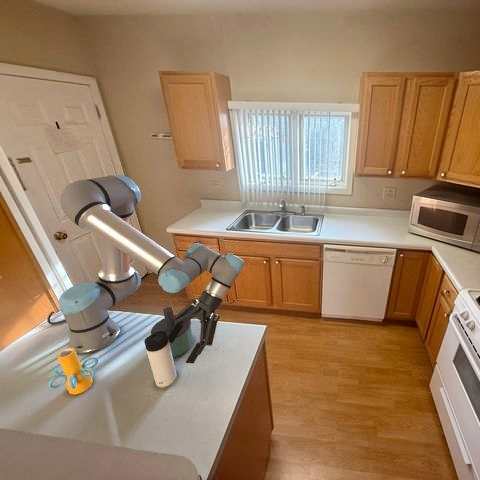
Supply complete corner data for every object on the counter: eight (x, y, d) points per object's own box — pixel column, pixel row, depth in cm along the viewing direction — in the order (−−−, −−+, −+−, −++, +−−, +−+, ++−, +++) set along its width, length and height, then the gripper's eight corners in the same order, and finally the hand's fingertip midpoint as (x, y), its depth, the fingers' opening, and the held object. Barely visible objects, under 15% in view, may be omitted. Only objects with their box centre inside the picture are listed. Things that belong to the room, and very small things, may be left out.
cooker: (153, 345, 100) (148, 326, 97) (186, 330, 109) (183, 312, 105) (162, 364, 92) (157, 345, 89) (197, 347, 101) (194, 328, 97)
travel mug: (163, 392, 83) (151, 347, 75) (152, 382, 86) (139, 338, 78) (181, 378, 88) (171, 334, 80) (170, 369, 91) (159, 326, 83)
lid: (147, 327, 97) (141, 308, 93) (184, 312, 106) (180, 294, 102) (156, 348, 88) (151, 327, 85) (196, 330, 97) (193, 310, 93)
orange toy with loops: (112, 372, 89) (99, 340, 83) (88, 401, 79) (72, 367, 73) (75, 372, 88) (60, 339, 82) (46, 401, 78) (27, 366, 72)
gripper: (243, 311, 87) (208, 372, 81) (202, 284, 100) (170, 336, 94) (228, 306, 80) (189, 372, 75) (187, 278, 94) (151, 333, 88)
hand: (178, 352), depth 85 cm, fingers open, 13 cm apart
